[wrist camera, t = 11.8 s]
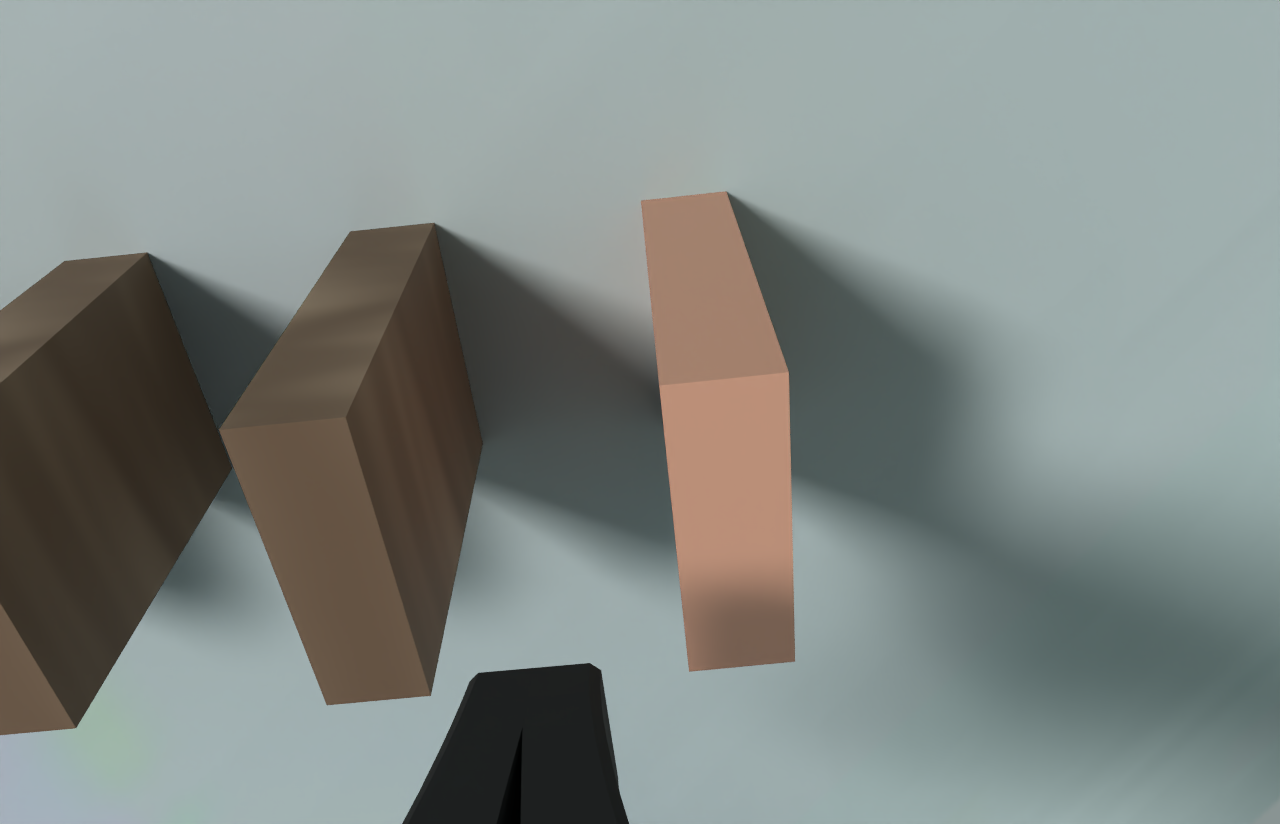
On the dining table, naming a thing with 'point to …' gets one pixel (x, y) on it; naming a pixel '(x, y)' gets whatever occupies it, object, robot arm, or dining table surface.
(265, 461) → the domino
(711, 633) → the domino
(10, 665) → the domino
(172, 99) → the dining table surface
